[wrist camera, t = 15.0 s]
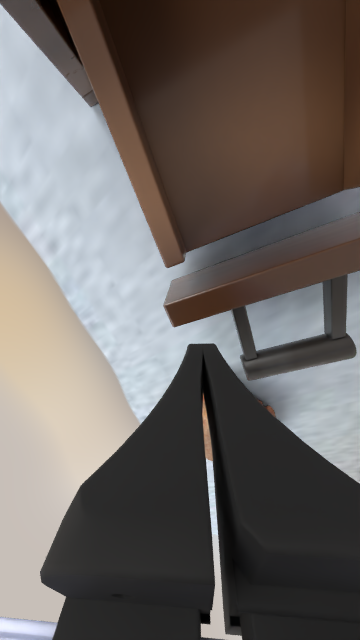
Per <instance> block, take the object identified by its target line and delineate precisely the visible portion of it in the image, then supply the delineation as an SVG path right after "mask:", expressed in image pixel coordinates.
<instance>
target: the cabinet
mask: <svg viewBox="0 0 360 640" xmlns="http://www.w3.org/2000/svg"><path fill="white" fill-rule="evenodd" d="M0 4H1V5H2V6H3V7H4V8H5V10H6V11H7V12H8V13H9V14H10V15H11V16H12V18H13V19H14V20H15V21H16V22H17V23H18V24H19V26H20V27H21V28H22V29H23V30H24V31H25V32H26V34H27V35H28V36H29V37H30V38H31V39H32V40H33V42H34V43H35V44H36V45H37V46H38V47H39V49H40V50H41V51H42V52H43V53H44V54H45V55H46V57H47V58H48V59H49V60H50V61H51V62H52V63H53V65H54V66H55V67H56V68H57V69H58V70H59V71H60V73H61V74H62V75H63V76H64V77H65V78H66V79H67V81H68V82H69V83H70V84H71V85H72V86H73V87H74V89H75V90H76V91H77V92H78V93H79V94H80V95H81V96H82V98H83V99H84V100H85V101H86V102H87V103H88V105H89V106H90V107H92V106H94V105H95V104H97V103H98V100H97V98H96V95H95V93H94V91H93V88H92V86H91V83H90V81H89V78H88V76H87V73H86V71H85V69H84V66H83V64H82V61H81V59H80V56H79V54H78V51H77V49H76V47H75V44H74V42H73V39H72V37H71V34H70V32H69V29H68V27H67V25H66V22H65V20H64V17H63V15H62V12H61V10H60V7H59V5H58V3H57V0H0Z"/></svg>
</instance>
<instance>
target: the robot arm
mask: <svg viewBox="0 0 360 640" xmlns="http://www.w3.org/2000/svg"><path fill="white" fill-rule="evenodd" d="M203 394H204V401H205V407H206V413H207V420H208V426H209V432H210V438H211V446H212V458H213V470H214V483H215V497H216V510H217V524H218V537H219V552H220V567H221V580H222V596H223V609H224V622H225V632H226V634H230V635H240V636H242V640H360V484H359V483H358V482H356V481H355V480H354V479H352V478H351V477H349V476H348V475H347V474H345V473H344V472H342V471H341V470H340V469H338V468H337V467H336V466H334V465H333V464H331V463H330V462H329V461H327V460H326V459H325V458H323V457H322V456H321V455H320V454H318V453H317V452H316V451H315V450H313V449H312V448H311V447H310V446H308V445H307V444H306V443H304V442H303V441H302V440H301V439H300V438H299V437H298V436H296V435H295V434H294V433H293V432H292V431H291V430H289V429H288V428H287V427H286V426H285V425H284V424H282V423H281V422H280V421H279V420H278V419H277V418H276V417H275V416H274V415H272V414H271V413H270V412H269V411H268V410H267V409H266V408H265V407H264V406H263V405H262V404H261V403H260V402H259V401H258V400H257V399H256V398H255V397H254V396H253V395H252V393H251V392H250V391H249V390H248V389H247V388H246V387H245V386H244V384H243V383H242V382H241V381H240V380H239V378H238V377H237V376H236V375H235V373H234V372H233V371H232V369H231V368H230V367H229V365H228V364H227V363H226V361H225V360H224V358H223V357H222V355H221V353H220V352H219V350H218V348H217V346H216V345H215V344H189V345H188V347H187V351H186V354H185V357H184V359H183V361H182V364H181V366H180V368H179V370H178V372H177V374H176V375H175V377H174V379H173V381H172V382H171V384H170V386H169V387H168V389H167V390H166V392H165V393H164V395H163V396H162V398H161V399H160V401H159V402H158V403H157V405H156V406H155V407H154V409H153V410H152V411H151V413H150V414H149V415H148V416H147V418H146V419H145V420H144V421H143V423H142V424H141V425H140V426H139V427H138V428H137V429H136V430H135V432H134V433H133V434H132V435H131V436H130V437H129V438H128V439H127V440H126V441H125V443H124V444H123V445H122V446H121V447H120V448H119V449H118V450H117V451H116V452H115V453H114V454H113V455H112V456H111V457H110V458H109V459H108V460H107V461H106V462H105V463H104V464H103V465H102V466H101V467H100V468H99V469H98V470H97V471H96V472H94V473H93V474H92V475H91V476H90V477H89V478H88V479H87V480H86V481H85V482H84V483H83V484H82V485H81V486H80V488H79V490H78V492H77V494H76V496H75V497H74V499H73V501H72V503H71V505H70V507H69V509H68V511H67V512H66V515H65V516H64V518H63V520H62V523H61V525H60V527H59V530H58V532H57V534H56V537H55V539H54V541H53V543H52V546H51V548H50V550H49V553H48V555H47V557H46V560H45V562H44V565H43V567H42V569H41V571H40V576H41V582H42V583H43V584H44V585H46V586H47V587H49V588H51V589H53V590H55V591H57V592H59V593H61V594H62V595H64V596H66V599H65V602H64V606H63V608H62V611H61V614H60V617H59V621H58V623H54V622H45V621H35V620H25V619H15V618H6V617H0V640H223V639H212V638H203V637H201V623H202V624H210V610H212V605H213V597H214V589H215V576H214V561H213V546H212V530H211V518H210V506H209V494H208V481H207V469H206V456H205V443H204V429H203V415H202V413H203Z"/></svg>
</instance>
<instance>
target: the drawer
mask: <svg viewBox="0 0 360 640" xmlns="http://www.w3.org/2000/svg"><path fill="white" fill-rule="evenodd" d="M57 3H58V5H59V7H60V10H61V12H62V15H63V17H64V20H65V22H66V25H67V27H68V29H69V32H70V34H71V37H72V39H73V42H74V44H75V47H76V49H77V51H78V54H79V56H80V59H81V61H82V64H83V66H84V69H85V71H86V73H87V76H88V78H89V81H90V83H91V86H92V88H93V91H94V93H95V95H96V98H97V100H98V103H99V105H100V108H101V110H102V113H103V115H104V117H105V120H106V122H107V125H108V127H109V130H110V132H111V135H112V137H113V139H114V142H115V144H116V147H117V149H118V152H119V154H120V157H121V159H122V161H123V164H124V166H125V169H126V171H127V174H128V176H129V179H130V181H131V183H132V186H133V188H134V191H135V193H136V196H137V198H138V201H139V203H140V205H141V208H142V210H143V213H144V215H145V218H146V220H147V223H148V225H149V227H150V230H151V232H152V235H153V237H154V240H155V242H156V245H157V247H158V249H159V252H160V254H161V257H162V259H163V262H164V264H165V267H166V268H170V267H172V266H175V265H177V264H180V263H183V262H184V261H185V255H186V252H189V251H191V250H194V249H196V248H199V247H202V246H204V245H207V244H209V243H212V242H214V241H217V240H219V239H222V238H224V237H227V236H229V235H232V234H234V233H237V232H239V231H242V230H245V229H247V228H250V227H252V226H255V225H257V224H260V223H262V222H265V221H267V220H270V219H272V218H275V217H277V216H280V215H283V214H285V213H288V212H290V211H293V210H295V209H298V208H300V207H303V206H305V205H308V204H310V203H313V202H315V201H318V200H321V199H323V198H326V197H328V196H331V195H333V194H336V193H338V192H341V191H343V190H348V189H353V188H357V187H360V0H57ZM359 270H360V212H357V213H354V214H352V215H349V216H346V217H344V218H341V219H338V220H335V221H333V222H330V223H327V224H324V225H322V226H319V227H316V228H314V229H311V230H308V231H305V232H303V233H300V234H297V235H294V236H292V237H289V238H286V239H284V240H281V241H278V242H275V243H273V244H270V245H267V246H265V247H262V248H259V249H256V250H254V251H251V252H248V253H245V254H243V255H240V256H237V257H235V258H232V259H229V260H226V261H224V262H221V263H218V264H215V265H213V266H210V267H207V268H205V269H202V270H199V271H196V272H194V273H191V274H188V275H185V276H183V277H180V278H177V279H175V280H172V281H171V284H170V287H169V290H168V293H167V296H166V299H165V302H164V308H165V311H166V313H167V315H168V317H169V319H170V322H171V324H172V326H173V327H177V326H180V325H184V324H187V323H190V322H193V321H197V320H200V319H203V318H206V317H210V316H213V315H216V314H219V313H223V312H226V311H229V310H231V312H232V315H233V319H234V322H235V326H236V330H237V333H238V337H239V340H240V344H241V347H242V351H243V355H240V359H241V362H242V365H243V368H244V371H245V374H246V377H247V379H248V380H249V381H250V380H255V379H259V378H264V377H268V376H273V375H278V374H282V373H287V372H291V371H296V370H300V369H305V368H309V367H314V366H319V365H323V364H328V363H332V362H337V361H341V360H346V359H350V358H353V357H355V355H356V347H355V344H354V342H353V340H352V339H351V337H350V336H349V335H348V334H347V333H346V310H347V274H350V273H353V272H356V271H359ZM320 282H323V304H324V332H325V334H322V335H318V336H314V337H310V338H306V339H302V340H298V341H294V342H290V343H287V344H283V345H279V346H275V347H271V348H267V349H263V350H259V351H256V349H255V345H254V340H253V336H252V332H251V328H250V324H249V320H248V316H247V312H246V307H245V305H249V304H252V303H255V302H258V301H262V300H265V299H268V298H271V297H275V296H278V295H281V294H284V293H288V292H291V291H294V290H298V289H301V288H304V287H307V286H311V285H314V284H317V283H320Z"/></svg>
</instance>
